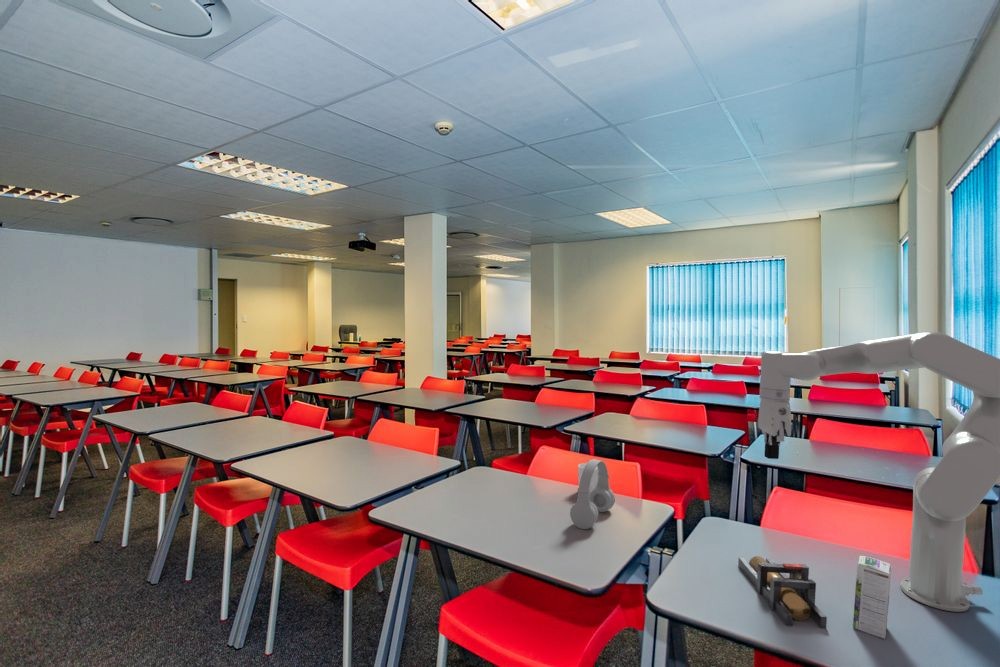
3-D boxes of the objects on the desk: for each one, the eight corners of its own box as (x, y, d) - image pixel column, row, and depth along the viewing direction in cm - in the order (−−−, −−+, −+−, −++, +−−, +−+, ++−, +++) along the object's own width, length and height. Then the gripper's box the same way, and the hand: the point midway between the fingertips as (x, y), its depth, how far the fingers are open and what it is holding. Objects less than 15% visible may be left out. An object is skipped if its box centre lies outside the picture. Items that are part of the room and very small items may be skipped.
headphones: (593, 533, 149) (595, 471, 148) (568, 526, 153) (570, 466, 152) (615, 511, 166) (617, 455, 165) (592, 505, 170) (593, 451, 169)
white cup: (573, 489, 185) (574, 463, 184) (592, 487, 187) (593, 462, 187) (583, 497, 177) (584, 470, 177) (602, 495, 180) (603, 468, 179)
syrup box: (854, 616, 110) (857, 553, 109) (887, 627, 106) (891, 562, 106) (852, 628, 106) (856, 563, 105) (887, 640, 102) (891, 573, 101)
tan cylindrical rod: (749, 573, 128) (748, 556, 128) (766, 571, 128) (765, 555, 128) (791, 621, 108) (789, 602, 108) (811, 620, 108) (809, 600, 108)
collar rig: (771, 567, 131) (773, 534, 130) (828, 627, 106) (830, 587, 105) (736, 565, 131) (738, 533, 131) (784, 625, 106) (786, 585, 106)
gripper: (802, 399, 130) (799, 466, 131) (775, 390, 145) (772, 451, 146) (773, 398, 131) (770, 465, 132) (749, 389, 146) (746, 450, 147)
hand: (771, 457), depth 139 cm, fingers closed
